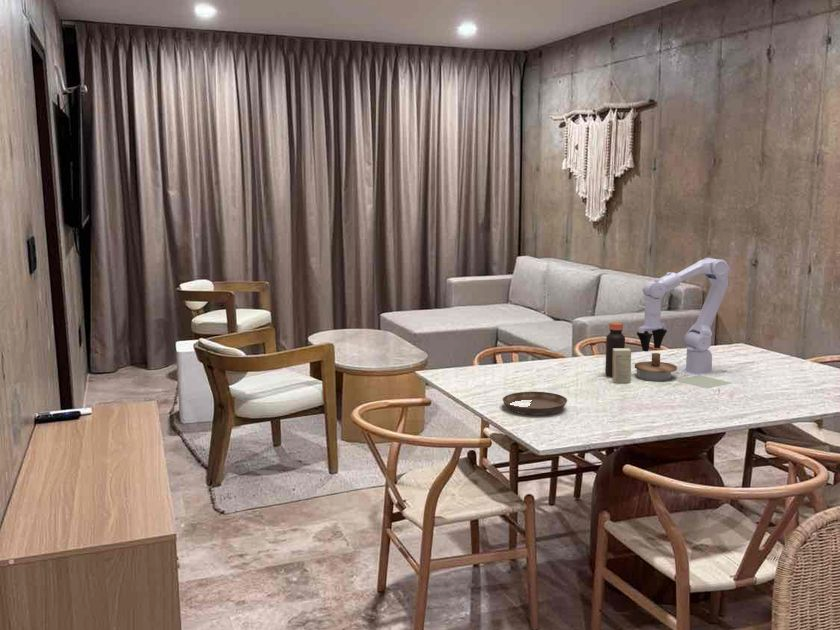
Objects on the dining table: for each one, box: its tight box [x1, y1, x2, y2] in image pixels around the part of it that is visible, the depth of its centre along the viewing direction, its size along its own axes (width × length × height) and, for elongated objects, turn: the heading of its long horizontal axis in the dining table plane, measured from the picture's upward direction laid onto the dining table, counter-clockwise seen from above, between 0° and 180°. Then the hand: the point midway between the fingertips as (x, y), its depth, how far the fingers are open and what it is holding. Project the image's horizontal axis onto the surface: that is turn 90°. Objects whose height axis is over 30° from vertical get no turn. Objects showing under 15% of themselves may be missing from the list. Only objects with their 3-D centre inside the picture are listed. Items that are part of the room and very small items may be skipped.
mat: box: [674, 374, 732, 389], centre depth 283 cm, size 14×14×1 cm
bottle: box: [604, 322, 626, 378], centre depth 294 cm, size 7×7×20 cm
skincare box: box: [611, 347, 632, 384], centre depth 285 cm, size 6×4×12 cm
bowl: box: [635, 369, 672, 382], centre depth 291 cm, size 12×12×4 cm
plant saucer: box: [502, 391, 568, 416], centre depth 252 cm, size 21×21×3 cm
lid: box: [634, 352, 678, 373], centre depth 290 cm, size 15×15×5 cm
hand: (651, 349), depth 294 cm, fingers open, 7 cm apart
